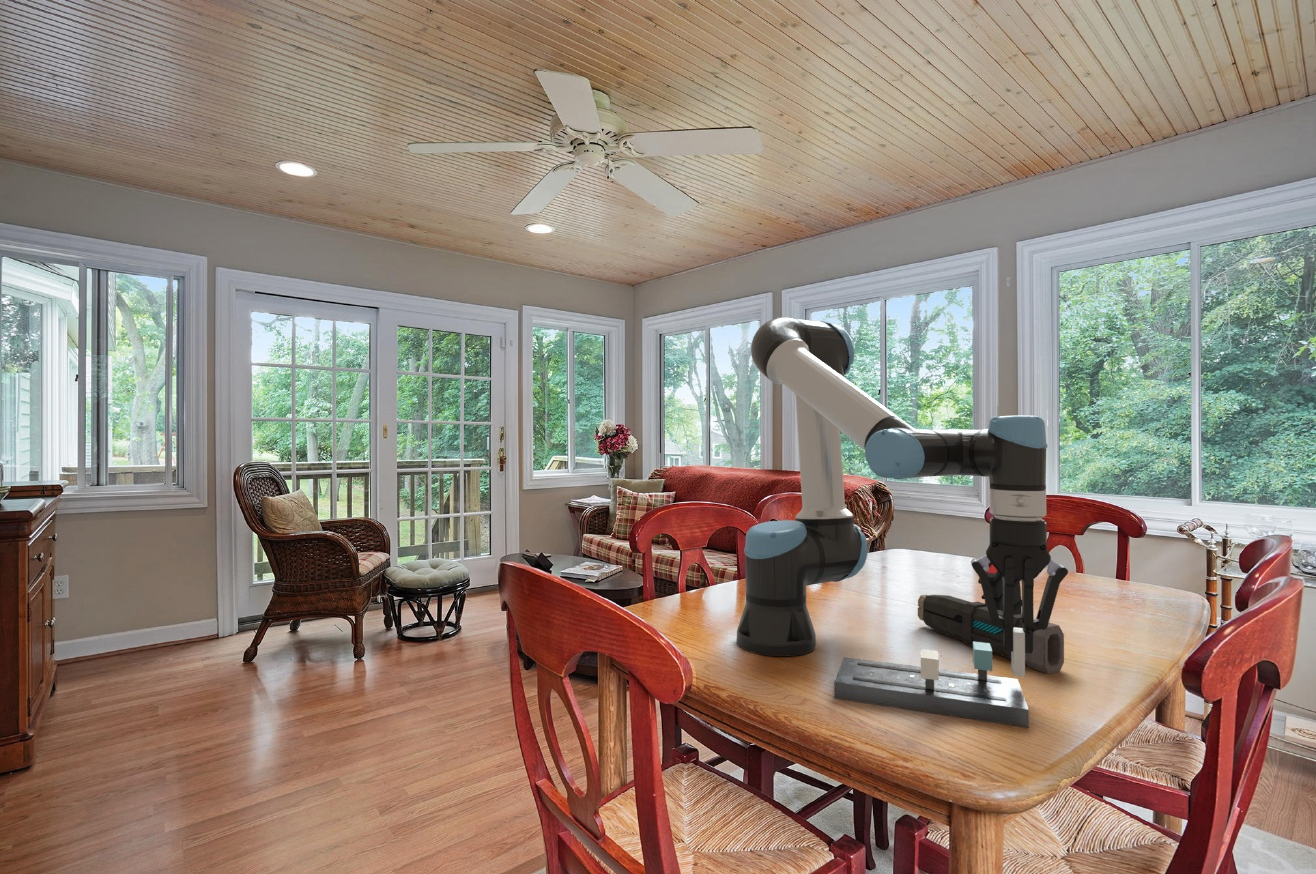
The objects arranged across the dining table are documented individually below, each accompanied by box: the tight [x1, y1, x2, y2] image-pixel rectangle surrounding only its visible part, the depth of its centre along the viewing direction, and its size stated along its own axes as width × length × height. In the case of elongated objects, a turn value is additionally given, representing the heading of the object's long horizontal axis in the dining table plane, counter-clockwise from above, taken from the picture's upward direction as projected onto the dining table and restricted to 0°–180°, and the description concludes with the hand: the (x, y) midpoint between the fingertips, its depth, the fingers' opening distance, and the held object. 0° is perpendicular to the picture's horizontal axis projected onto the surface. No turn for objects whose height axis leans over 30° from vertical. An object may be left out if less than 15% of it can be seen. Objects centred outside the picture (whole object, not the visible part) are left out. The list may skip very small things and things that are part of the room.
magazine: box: [977, 562, 1022, 615], centre depth 138 cm, size 4×13×15 cm, turn 127°
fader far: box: [972, 642, 993, 680], centre depth 97 cm, size 2×4×5 cm, turn 157°
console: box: [833, 656, 1030, 729], centre depth 97 cm, size 26×12×3 cm, turn 67°
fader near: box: [920, 648, 940, 689], centre depth 94 cm, size 2×4×5 cm, turn 157°
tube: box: [917, 594, 1065, 675], centre depth 120 cm, size 11×7×30 cm
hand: (1018, 672), depth 95 cm, fingers closed
